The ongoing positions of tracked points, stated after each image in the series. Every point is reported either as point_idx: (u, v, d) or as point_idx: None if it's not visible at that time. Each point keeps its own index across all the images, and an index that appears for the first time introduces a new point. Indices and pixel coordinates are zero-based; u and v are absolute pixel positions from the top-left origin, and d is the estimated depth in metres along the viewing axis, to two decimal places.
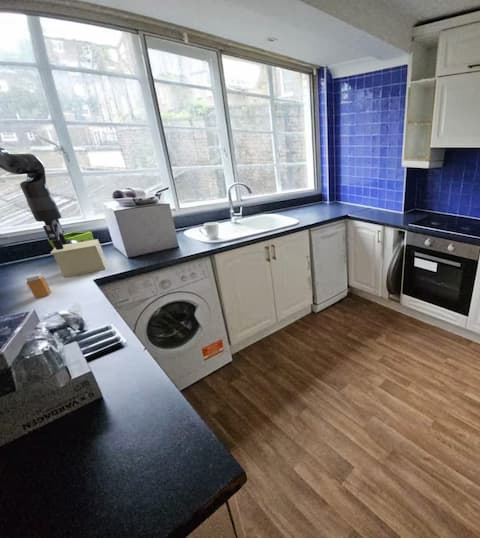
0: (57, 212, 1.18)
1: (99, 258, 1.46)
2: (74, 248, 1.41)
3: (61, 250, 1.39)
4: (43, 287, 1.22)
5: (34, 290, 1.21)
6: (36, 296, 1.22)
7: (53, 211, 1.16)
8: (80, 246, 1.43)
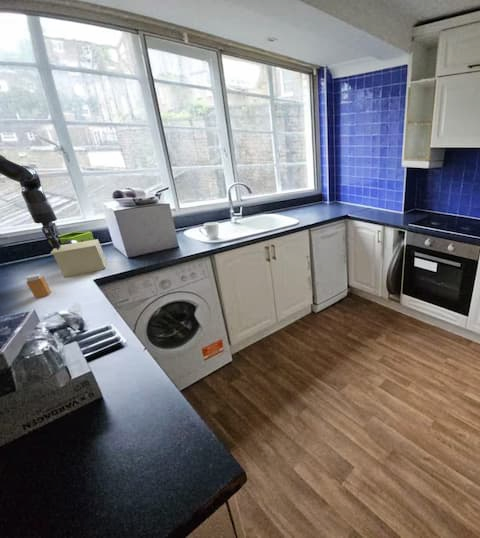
0: (53, 215, 1.36)
1: (99, 258, 1.46)
2: (74, 248, 1.41)
3: (61, 250, 1.39)
4: (43, 287, 1.22)
5: (34, 290, 1.21)
6: (36, 296, 1.22)
7: (49, 214, 1.35)
8: (80, 246, 1.43)
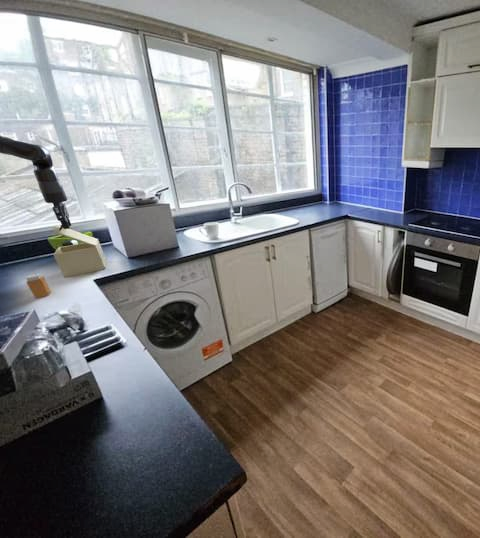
0: (64, 195, 1.36)
1: (99, 258, 1.46)
2: (75, 237, 1.40)
3: (62, 233, 1.37)
4: (43, 287, 1.22)
5: (34, 290, 1.21)
6: (36, 296, 1.22)
7: (60, 194, 1.35)
8: (81, 238, 1.43)
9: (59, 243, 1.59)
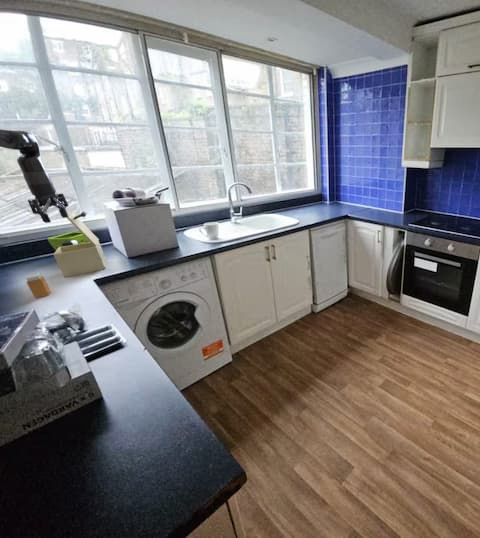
0: (47, 188, 1.24)
1: (99, 258, 1.46)
2: (83, 231, 1.41)
3: (75, 223, 1.38)
4: (43, 287, 1.22)
5: (34, 290, 1.21)
6: (36, 296, 1.22)
7: (41, 186, 1.23)
8: (87, 234, 1.43)
9: (59, 243, 1.59)
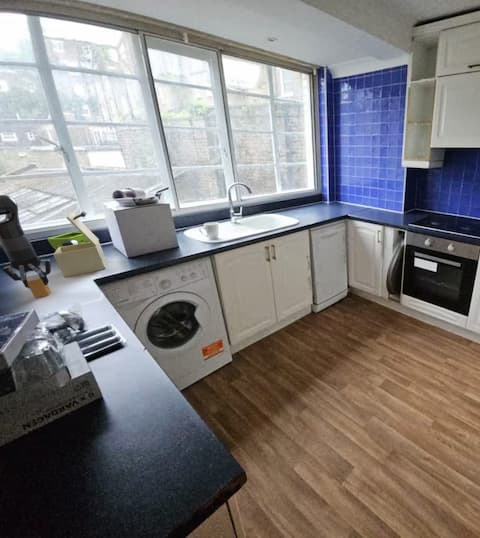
0: (13, 255, 1.13)
1: (99, 258, 1.46)
2: (83, 231, 1.41)
3: (75, 223, 1.38)
4: (43, 287, 1.22)
5: (34, 290, 1.21)
6: (36, 296, 1.22)
7: (8, 253, 1.13)
8: (87, 234, 1.43)
9: (59, 243, 1.59)
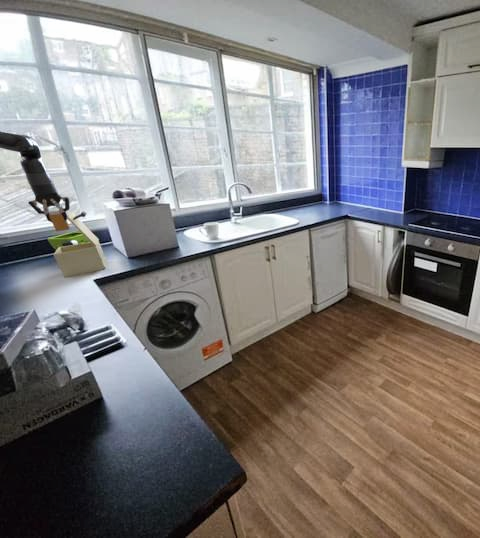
0: (37, 189, 1.29)
1: (99, 258, 1.46)
2: (83, 231, 1.41)
3: (75, 223, 1.38)
4: (63, 221, 1.37)
5: (55, 224, 1.36)
6: (57, 229, 1.37)
7: (34, 187, 1.28)
8: (87, 234, 1.43)
9: (59, 243, 1.59)
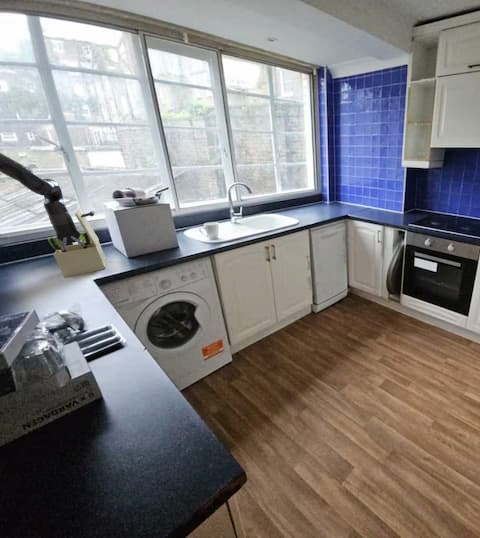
0: (59, 228, 1.37)
1: (99, 258, 1.46)
2: (87, 230, 1.42)
3: (82, 221, 1.40)
4: None
5: None
6: None
7: (56, 227, 1.37)
8: (90, 233, 1.44)
9: (59, 243, 1.59)
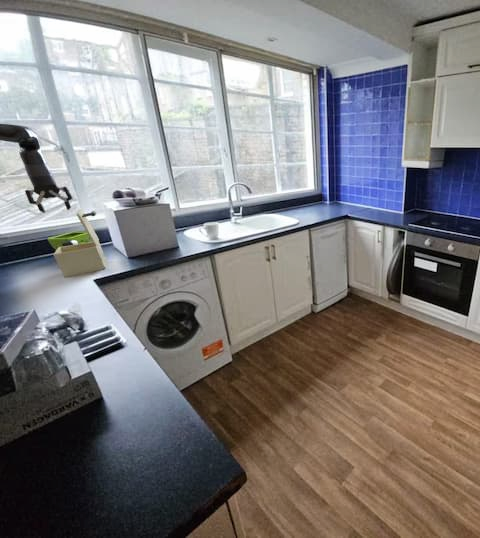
0: (36, 180, 1.28)
1: (99, 258, 1.46)
2: (88, 230, 1.42)
3: (83, 220, 1.40)
4: None
5: None
6: None
7: (32, 179, 1.28)
8: (91, 233, 1.44)
9: (59, 243, 1.59)
